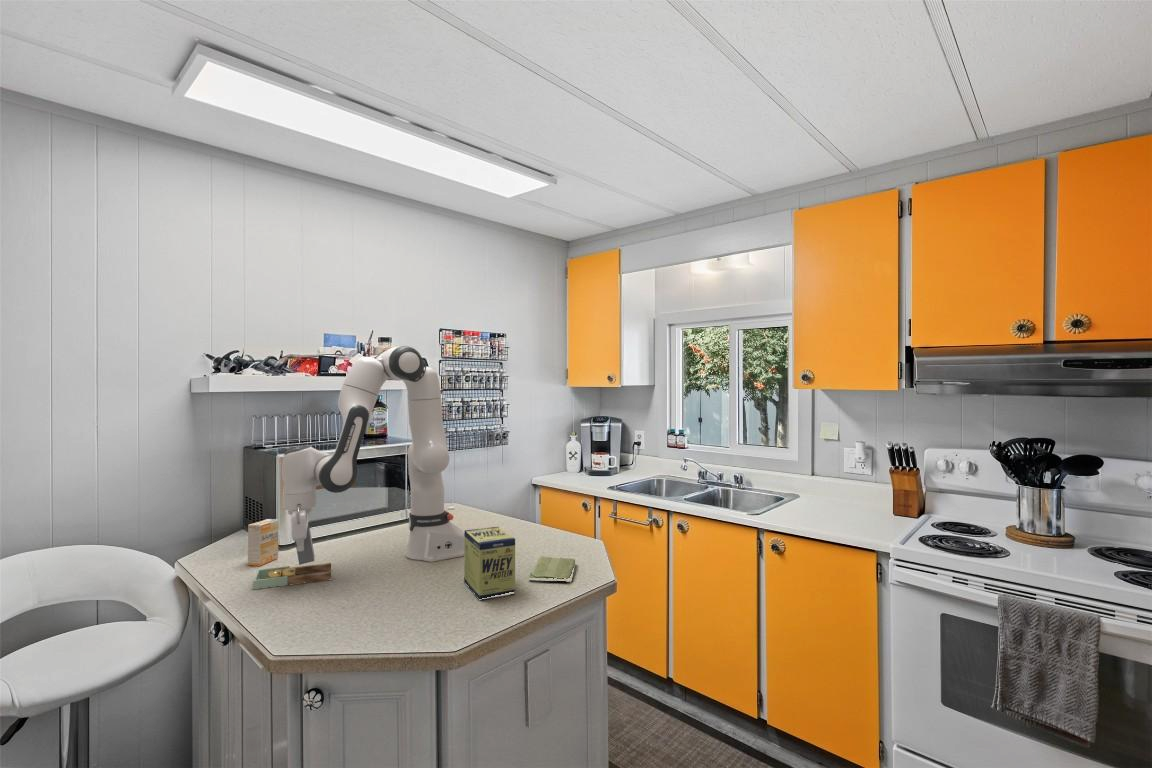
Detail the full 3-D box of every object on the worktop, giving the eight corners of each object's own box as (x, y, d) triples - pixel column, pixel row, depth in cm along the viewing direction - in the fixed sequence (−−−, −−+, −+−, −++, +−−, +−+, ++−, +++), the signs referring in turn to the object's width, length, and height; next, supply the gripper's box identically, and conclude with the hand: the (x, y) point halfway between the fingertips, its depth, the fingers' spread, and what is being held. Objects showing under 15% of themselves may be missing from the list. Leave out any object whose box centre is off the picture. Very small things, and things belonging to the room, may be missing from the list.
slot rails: (331, 569, 172) (331, 562, 172) (331, 579, 163) (331, 572, 163) (289, 574, 168) (289, 567, 168) (287, 585, 158) (287, 578, 158)
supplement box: (260, 566, 174) (260, 525, 174) (247, 565, 175) (247, 524, 175) (279, 558, 182) (279, 519, 182) (266, 557, 183) (266, 518, 183)
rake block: (314, 555, 168) (309, 527, 168) (314, 561, 163) (309, 531, 163) (300, 559, 167) (295, 530, 166) (299, 565, 162) (294, 535, 161)
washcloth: (527, 584, 162) (527, 573, 162) (538, 564, 179) (538, 554, 179) (571, 586, 160) (571, 575, 160) (578, 565, 178) (578, 556, 178)
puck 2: (295, 577, 165) (295, 567, 165) (295, 581, 162) (295, 570, 162) (282, 578, 164) (282, 568, 164) (281, 582, 161) (281, 572, 161)
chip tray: (289, 574, 168) (289, 566, 168) (287, 585, 158) (287, 576, 158) (257, 578, 164) (257, 569, 164) (253, 589, 155) (253, 580, 155)
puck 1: (282, 578, 164) (282, 568, 164) (281, 582, 161) (281, 572, 161) (268, 580, 162) (268, 570, 162) (267, 584, 159) (267, 574, 159)
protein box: (479, 601, 148) (479, 543, 148) (463, 582, 161) (463, 529, 161) (516, 594, 152) (516, 538, 152) (497, 577, 166) (497, 525, 166)
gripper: (310, 507, 156) (312, 555, 156) (312, 493, 175) (313, 536, 175) (285, 510, 153) (287, 559, 154) (289, 495, 172) (291, 539, 172)
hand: (301, 547), depth 164 cm, fingers closed on rake block, 5 cm apart
